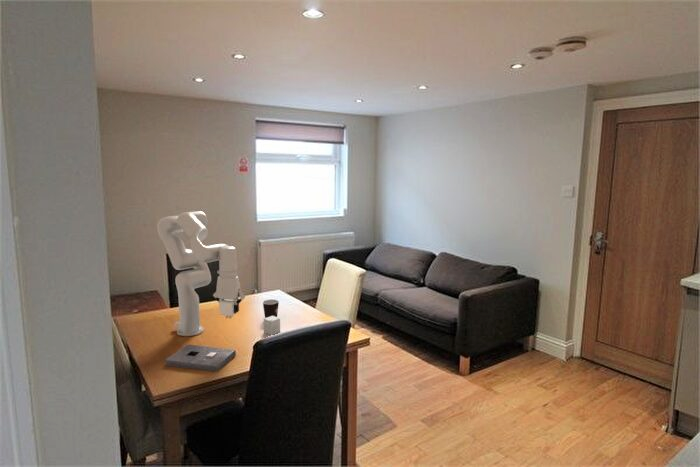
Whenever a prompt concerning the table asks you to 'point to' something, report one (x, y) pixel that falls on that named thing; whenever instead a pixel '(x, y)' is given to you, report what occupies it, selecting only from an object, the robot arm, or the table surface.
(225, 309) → the plug
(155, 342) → the table surface
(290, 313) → the table surface
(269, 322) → the skincare box
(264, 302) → the coffee mug
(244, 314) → the table surface
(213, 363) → the socket plate
